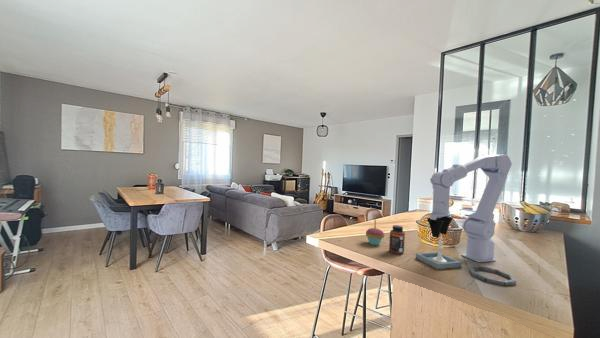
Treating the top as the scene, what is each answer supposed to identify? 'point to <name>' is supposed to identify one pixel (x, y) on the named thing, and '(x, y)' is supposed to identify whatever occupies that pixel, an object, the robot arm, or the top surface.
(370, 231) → the cupcake
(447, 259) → the tray
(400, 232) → the supplement bottle
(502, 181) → the robot arm
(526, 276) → the top surface
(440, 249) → the chess piece
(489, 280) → the collar
